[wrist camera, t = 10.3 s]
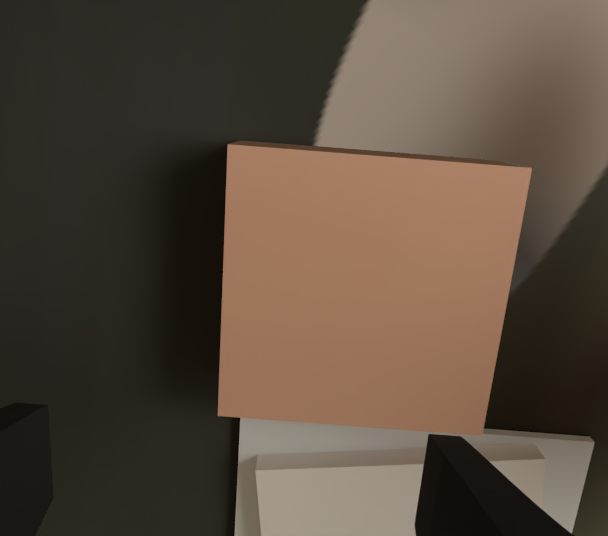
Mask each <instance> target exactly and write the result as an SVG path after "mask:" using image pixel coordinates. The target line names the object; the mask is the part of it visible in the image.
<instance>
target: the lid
mask: <svg viewBox="0 0 608 536" xmlns="http://www.w3.org/2000/svg"><path fill="white" fill-rule="evenodd" d="M473 447H474V448H475V449H476V450H477V451H478V452H479V453H481V454H482V455H483V456H484V457H485V458H486V459H487V460H488V461H489V462H490V463H491V464H492V465H493V466H495V467H496V468H497V469H498V470H499V471H500V472H501V473H502V474H503V475H504V476H505V477H506V478H508V479H509V480H510V481H511V482H512V483H513V484H514V485H515V486H516V487H517V488H519V489H520V490H521V491H522V492H523V493H524V494H525V495H526V496H527V497H529V498H530V499H531V500H532V501H533V502H534V503H535V504H537V505H538V506H539V507H540V508H541V509H542V500H543V486H544V472H545V458H544V456H543V455H542V453H541V452H540V450H539V449H538V448H537V446H536V445H535V444H514V445H489V446H473ZM425 454H426V448H415V449H391V450H366V451H341V452H317V453H292V454H268V455H258V457H257V463H256V469H255V474H256V484H257V495H258V506H259V516H260V527H261V536H416V532H415V525H414V524H415V518H416V511H417V505H418V498H419V492H420V486H421V479H422V473H423V466H424V460H425Z"/></svg>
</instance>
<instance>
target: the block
mask: <svg viewBox="0 0 608 536" xmlns="http://www.w3.org/2000/svg"><path fill="white" fill-rule="evenodd" d="M531 171H532V168H530V167H525V166H521V165H516V164H512V163H507V162H503V161H497V160H485V159H472V158H459V157H447V156H433V155H421V154H408V153H407V154H406V153H394V152H383V151H370V150H357V149H344V148H331V147H318V146H306V145H293V144H280V143H267V142H254V141H242V140H241V141H237V142H234V143H230V144H228V148H227V176H226V203H225V230H224V258H223V285H222V313H221V340H220V367H219V395H218V416H226V417H239V418H252V419H265V420H279V421H292V422H305V423H319V424H332V425H345V426H358V427H372V428H385V429H398V430H412V431H425V432H438V433H451V434H465V435H478V436H482V434H483V429H484V423H485V418H486V413H487V407H488V402H489V397H490V391H491V386H492V381H493V375H494V370H495V365H496V359H497V354H498V348H499V343H500V338H501V332H502V327H503V322H504V316H505V311H506V306H507V300H508V295H509V289H510V284H511V279H512V273H513V268H514V263H515V257H516V251H517V247H518V241H519V236H520V231H521V225H522V220H523V214H524V209H525V204H526V198H527V193H528V187H529V182H530V177H531Z"/></svg>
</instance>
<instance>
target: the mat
mask: <svg viewBox="0 0 608 536" xmlns="http://www.w3.org/2000/svg"><path fill="white" fill-rule="evenodd" d="M428 434H437V435H450V436H461V437H462V438H464V439H465V440H466V441H467V442H468V443H469V444H471V445H472V446H489V445H514V444H535V445H536V446H537V448H538V449H539V450H540V452H541V453H542V455H543V456H544V458H545V472H544V486H543V500H542V510H543V511H545V512H546V513H547V514H548V515H549V516H550V517H552V518H553V519H554V520H555V521H556V522H558V523H559V524H560V525H561V526H562V527H564V528H565V529H566V530H567V531H569V532H570V533H571V534H572V531H573V527H574V523H575V519H576V515H577V511H578V507H579V503H580V499H581V495H582V491H583V487H584V483H585V479H586V475H587V471H588V467H589V463H590V459H591V455H592V451H593V447H594V443H595V442H594V441H593V440H592V439H591V437H590V436H577V435H563V434H550V433H537V432H524V431H510V430H497V429H483V434H482V436H478V435H465V434H451V433H438V432H425V431H412V430H398V429H385V428H372V427H358V426H345V425H332V424H319V423H305V422H292V421H279V420H265V419H252V418H240V435H239V455H238V475H237V495H236V516H235V536H261V527H260V516H259V506H258V495H257V484H256V474H255V469H256V463H257V457H258V455H268V454H292V453H317V452H341V451H366V450H391V449H415V448H426V447H427V441H428Z"/></svg>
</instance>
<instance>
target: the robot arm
mask: <svg viewBox="0 0 608 536" xmlns="http://www.w3.org/2000/svg"><path fill="white" fill-rule="evenodd" d="M52 499H53V485H52V468H51V451H50V434H49V417H48V405H39V404H25V403H14V404H11V405H8V406H5V407H3V408H0V536H35V534H36V532H37V530H38V528H39V526H40V524H41V522H42V520H43V518H44V516H45V514H46V512H47V510H48V508H49V505H50V503H51V501H52ZM414 525H415V532H416V536H574V535H572V534H571V533H570V532H569V531H567V530H566V529H565V528H564V527H562V526H561V525H560V524H559V523H558V522H556V521H555V520H554V519H553V518H552V517H550V516H549V515H548V514H547V513H546V512H545V511H543V510H542V509H541V508H540V507H539V506H538V505H537V504H535V503H534V502H533V501H532V500H531V499H530V498H529V497H527V496H526V495H525V494H524V493H523V492H522V491H521V490H520V489H519V488H517V487H516V486H515V485H514V484H513V483H512V482H511V481H510V480H509V479H508V478H506V477H505V476H504V475H503V474H502V473H501V472H500V471H499V470H498V469H497V468H496V467H495V466H493V465H492V464H491V463H490V462H489V461H488V460H487V459H486V458H485V457H484V456H483V455H482V454H481V453H479V452H478V451H477V450H476V449H475V448H474V447H473V446H472V445H471V444H469V443H468V442H467V441H466V440H465V439H464V438H462V437H461V436H450V435H437V434H428V441H427V447H426V454H425V460H424V466H423V473H422V479H421V486H420V492H419V498H418V505H417V511H416V518H415V524H414Z"/></svg>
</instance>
